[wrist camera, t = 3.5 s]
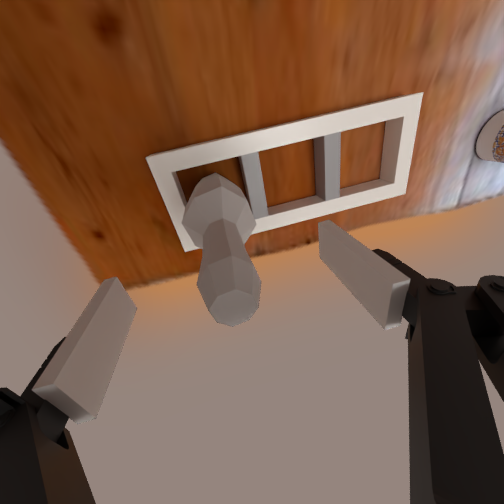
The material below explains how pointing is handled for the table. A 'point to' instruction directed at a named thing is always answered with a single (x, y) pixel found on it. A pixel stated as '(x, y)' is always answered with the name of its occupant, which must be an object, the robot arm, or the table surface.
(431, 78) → the table surface
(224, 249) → the low poly bottle
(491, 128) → the bath foam
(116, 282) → the robot arm
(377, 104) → the white rectangular compartment rack
